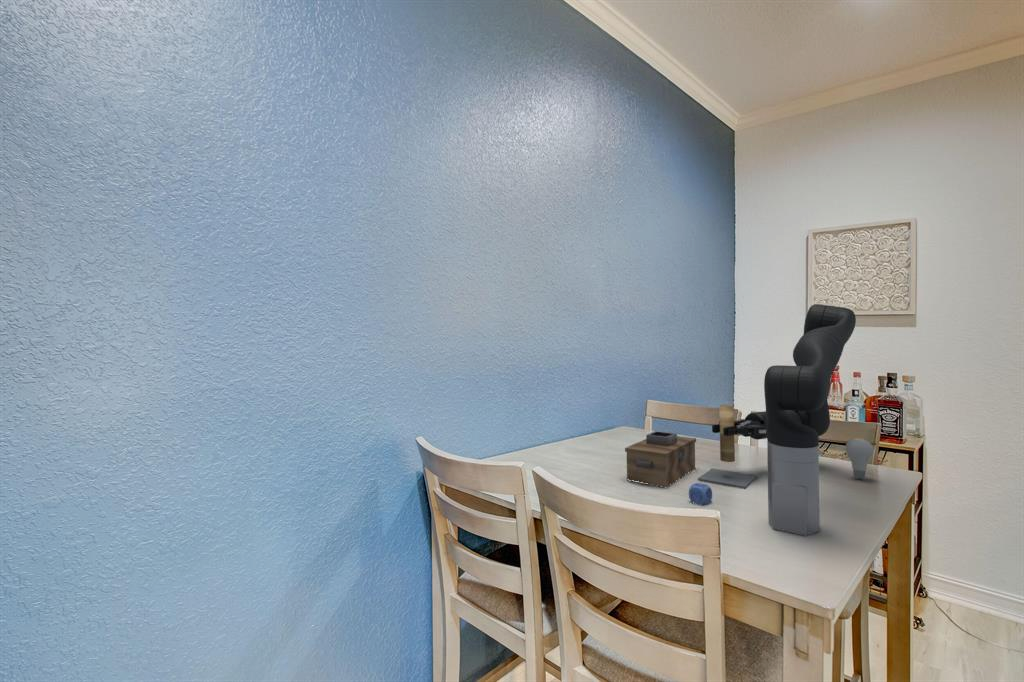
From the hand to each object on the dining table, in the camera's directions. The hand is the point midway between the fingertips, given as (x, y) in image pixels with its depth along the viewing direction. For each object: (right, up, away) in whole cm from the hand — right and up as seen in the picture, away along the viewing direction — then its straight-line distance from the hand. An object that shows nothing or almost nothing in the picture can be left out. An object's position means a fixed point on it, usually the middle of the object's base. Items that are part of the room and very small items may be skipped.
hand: (718, 430), depth 131 cm
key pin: (+3, -8, +1) cm, 9 cm away
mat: (+3, -14, +1) cm, 14 cm away
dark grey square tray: (-13, -5, +7) cm, 16 cm away
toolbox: (-13, -14, +7) cm, 20 cm away
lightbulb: (+37, -13, -1) cm, 39 cm away
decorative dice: (-11, -14, -16) cm, 24 cm away
